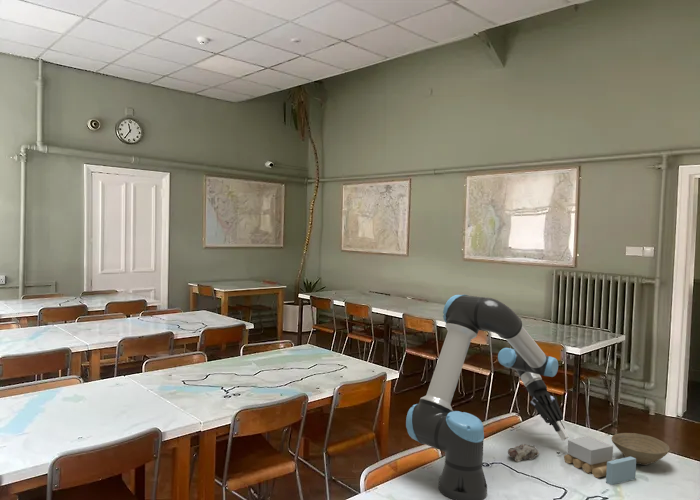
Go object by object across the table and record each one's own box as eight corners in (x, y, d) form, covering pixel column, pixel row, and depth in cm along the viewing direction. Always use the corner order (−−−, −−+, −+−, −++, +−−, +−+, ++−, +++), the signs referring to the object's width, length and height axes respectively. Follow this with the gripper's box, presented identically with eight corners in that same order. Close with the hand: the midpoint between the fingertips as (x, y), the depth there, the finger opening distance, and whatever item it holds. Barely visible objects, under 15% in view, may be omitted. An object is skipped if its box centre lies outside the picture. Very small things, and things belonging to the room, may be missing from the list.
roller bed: (599, 479, 174) (599, 470, 174) (563, 461, 187) (564, 453, 187) (623, 473, 179) (623, 464, 179) (586, 456, 192) (587, 448, 192)
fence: (611, 485, 170) (612, 464, 169) (606, 482, 171) (606, 461, 171) (635, 479, 175) (636, 458, 175) (629, 476, 176) (630, 456, 176)
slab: (590, 464, 177) (591, 450, 177) (567, 453, 186) (567, 440, 186) (612, 460, 182) (613, 446, 182) (588, 449, 191) (589, 436, 191)
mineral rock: (531, 450, 197) (531, 439, 197) (546, 459, 189) (546, 447, 189) (499, 455, 192) (499, 443, 192) (513, 463, 184) (513, 451, 184)
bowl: (610, 466, 185) (611, 444, 184) (611, 448, 201) (611, 428, 201) (670, 478, 176) (671, 455, 176) (666, 459, 192) (667, 438, 192)
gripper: (540, 386, 214) (571, 440, 199) (516, 389, 208) (547, 445, 194) (551, 377, 209) (583, 432, 194) (527, 380, 204) (558, 436, 189)
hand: (565, 438), depth 194 cm, fingers closed
